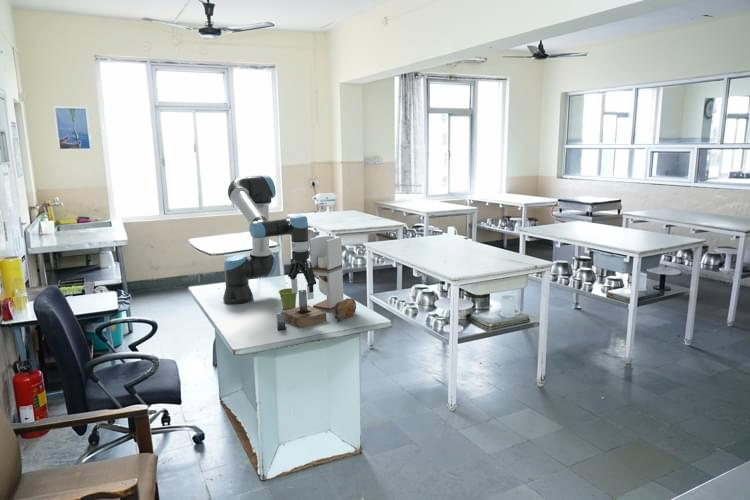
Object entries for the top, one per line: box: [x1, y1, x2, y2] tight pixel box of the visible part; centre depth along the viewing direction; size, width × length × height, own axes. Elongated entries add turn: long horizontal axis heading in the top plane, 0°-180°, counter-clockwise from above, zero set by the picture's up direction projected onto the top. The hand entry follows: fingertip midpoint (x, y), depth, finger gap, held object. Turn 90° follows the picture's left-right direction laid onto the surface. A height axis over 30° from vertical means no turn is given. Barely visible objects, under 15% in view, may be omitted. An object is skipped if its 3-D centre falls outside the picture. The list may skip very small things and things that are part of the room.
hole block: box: [281, 304, 327, 329], centre depth 242 cm, size 16×14×4 cm
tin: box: [333, 297, 357, 322], centre depth 244 cm, size 15×3×8 cm, turn 148°
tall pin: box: [297, 289, 308, 314], centre depth 241 cm, size 4×4×14 cm
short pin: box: [276, 312, 287, 332], centre depth 230 cm, size 4×4×7 cm
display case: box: [308, 234, 345, 313], centre depth 257 cm, size 11×11×35 cm
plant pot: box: [278, 287, 298, 310], centre depth 262 cm, size 9×9×9 cm
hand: (302, 295), depth 241 cm, fingers open, 13 cm apart
